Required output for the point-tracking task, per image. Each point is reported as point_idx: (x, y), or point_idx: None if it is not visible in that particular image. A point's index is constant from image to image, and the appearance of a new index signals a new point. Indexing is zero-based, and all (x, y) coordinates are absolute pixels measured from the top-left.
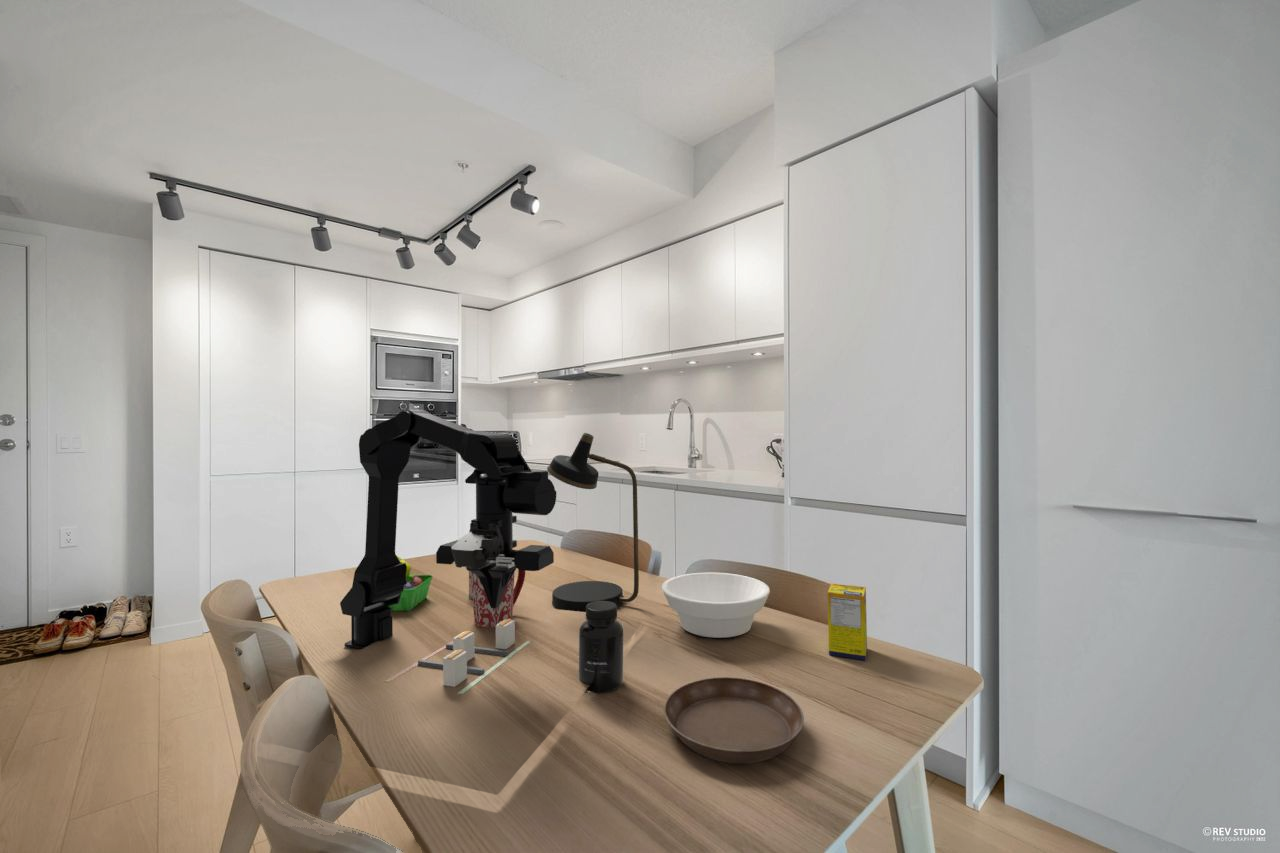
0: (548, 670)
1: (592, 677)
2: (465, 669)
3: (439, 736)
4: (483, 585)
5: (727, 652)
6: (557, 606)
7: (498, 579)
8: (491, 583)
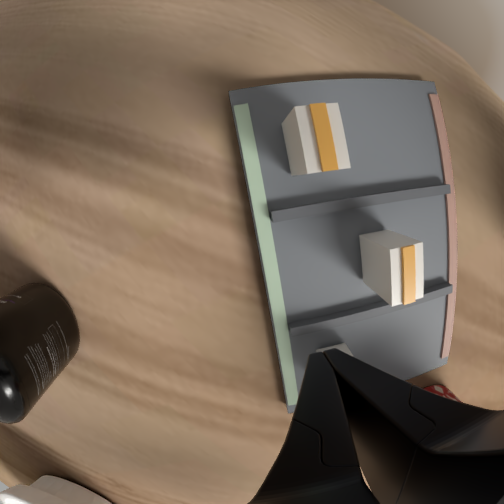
0: (166, 330)
1: (14, 291)
2: (294, 167)
3: (176, 14)
4: (424, 396)
5: (20, 446)
6: None
7: (284, 486)
8: (383, 444)
